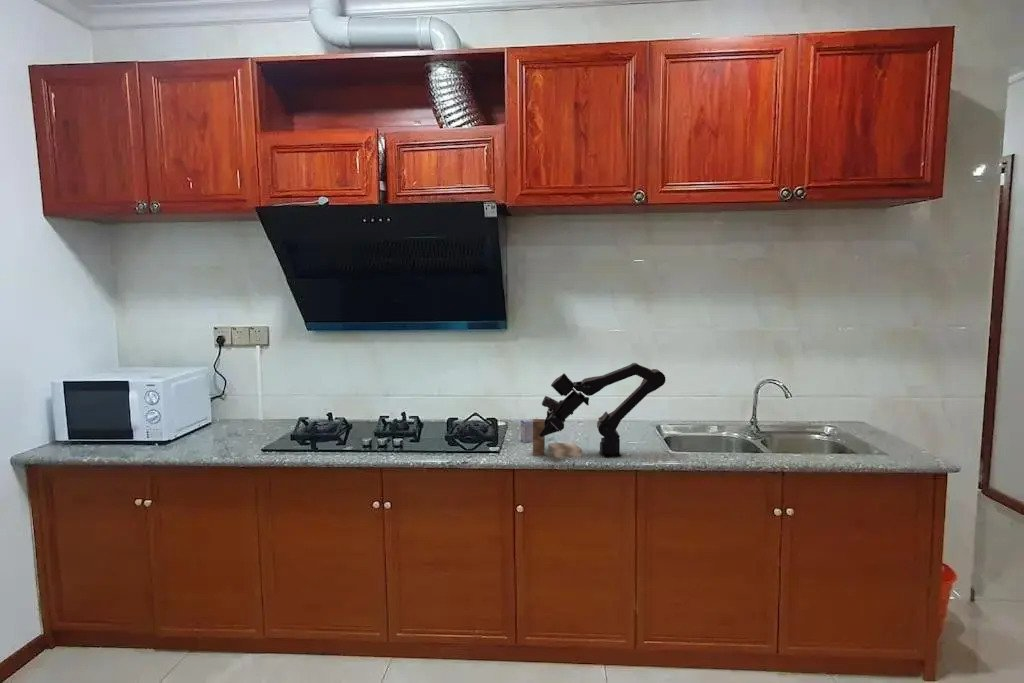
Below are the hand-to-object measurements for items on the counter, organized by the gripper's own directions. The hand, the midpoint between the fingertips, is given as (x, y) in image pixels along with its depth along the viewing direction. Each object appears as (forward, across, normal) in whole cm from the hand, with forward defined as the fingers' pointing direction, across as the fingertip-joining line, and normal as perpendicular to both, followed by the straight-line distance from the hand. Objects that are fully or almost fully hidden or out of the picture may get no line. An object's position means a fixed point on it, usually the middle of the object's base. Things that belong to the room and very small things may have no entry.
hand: (539, 432), depth 227 cm
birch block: (-1, -2, +13) cm, 13 cm away
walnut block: (+6, 0, +6) cm, 8 cm away
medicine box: (+8, -19, +4) cm, 21 cm away
